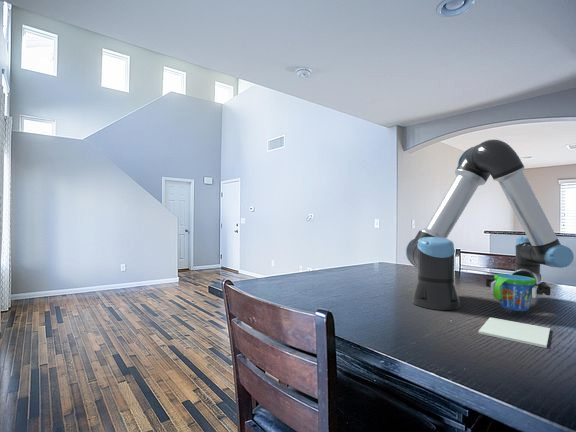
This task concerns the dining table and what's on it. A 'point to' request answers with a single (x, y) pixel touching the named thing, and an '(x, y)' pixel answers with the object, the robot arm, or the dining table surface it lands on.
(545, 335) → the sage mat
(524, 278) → the snack cup
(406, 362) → the dining table surface
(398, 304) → the dining table surface
